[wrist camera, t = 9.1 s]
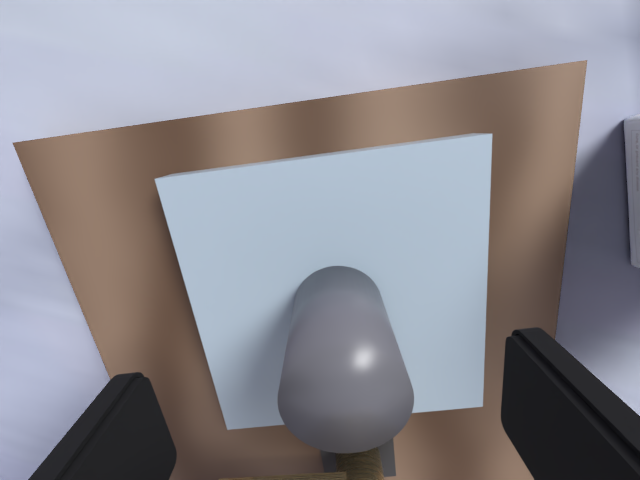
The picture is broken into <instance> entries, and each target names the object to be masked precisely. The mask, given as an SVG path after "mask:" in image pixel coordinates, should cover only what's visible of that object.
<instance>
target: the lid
mask: <svg viewBox="0 0 640 480" xmlns="http://www.w3.org/2000/svg"><path fill="white" fill-rule="evenodd" d="M491 160H492V134H487V133H472V134H464V135H457V136H450V137H442V138H435V139H427V140H420V141H413V142H405V143H398V144H390V145H383V146H375V147H368V148H361V149H353V150H346V151H338V152H331V153H324V154H316V155H309V156H301V157H294V158H286V159H279V160H272V161H264V162H257V163H249V164H242V165H235V166H227V167H220V168H212V169H205V170H198V171H190V172H183V173H175V174H170V175H167V176H163V177H160V178H156V179H155V183H156V186H157V190H158V193H159V196H160V200H161V203H162V207H163V210H164V214H165V217H166V220H167V224H168V227H169V231H170V234H171V238H172V241H173V245H174V248H175V251H176V255H177V258H178V262H179V265H180V269H181V272H182V276H183V279H184V282H185V286H186V289H187V293H188V296H189V300H190V303H191V306H192V310H193V313H194V317H195V320H196V324H197V327H198V331H199V334H200V337H201V341H202V344H203V348H204V351H205V355H206V358H207V361H208V365H209V368H210V372H211V375H212V379H213V382H214V386H215V389H216V392H217V396H218V399H219V403H220V406H221V410H222V413H223V417H224V420H225V423H226V427H227V430H231V429H242V428H253V427H264V426H275V425H286V427H287V428H288V429H289V431H290V432H291V433H292V434H293V435H294V436H296V437H297V438H298V439H299V440H301V441H302V442H304V443H306V444H308V445H310V446H312V447H314V448H317V449H319V450H323V451H327V452H333V453H357V452H363V451H367V450H370V449H373V448H376V447H378V446H381V445H383V444H385V443H386V442H388V441H389V440H391V439H392V438H394V437H395V436H396V435H397V434H398V433H399V432H400V431H401V430H402V429H403V428H404V426H405V425H406V424H407V422H408V420H409V418H410V416H411V413H418V412H429V411H440V410H452V409H463V408H474V407H483V388H484V359H485V331H486V302H487V274H488V245H489V217H490V188H491Z"/></svg>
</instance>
